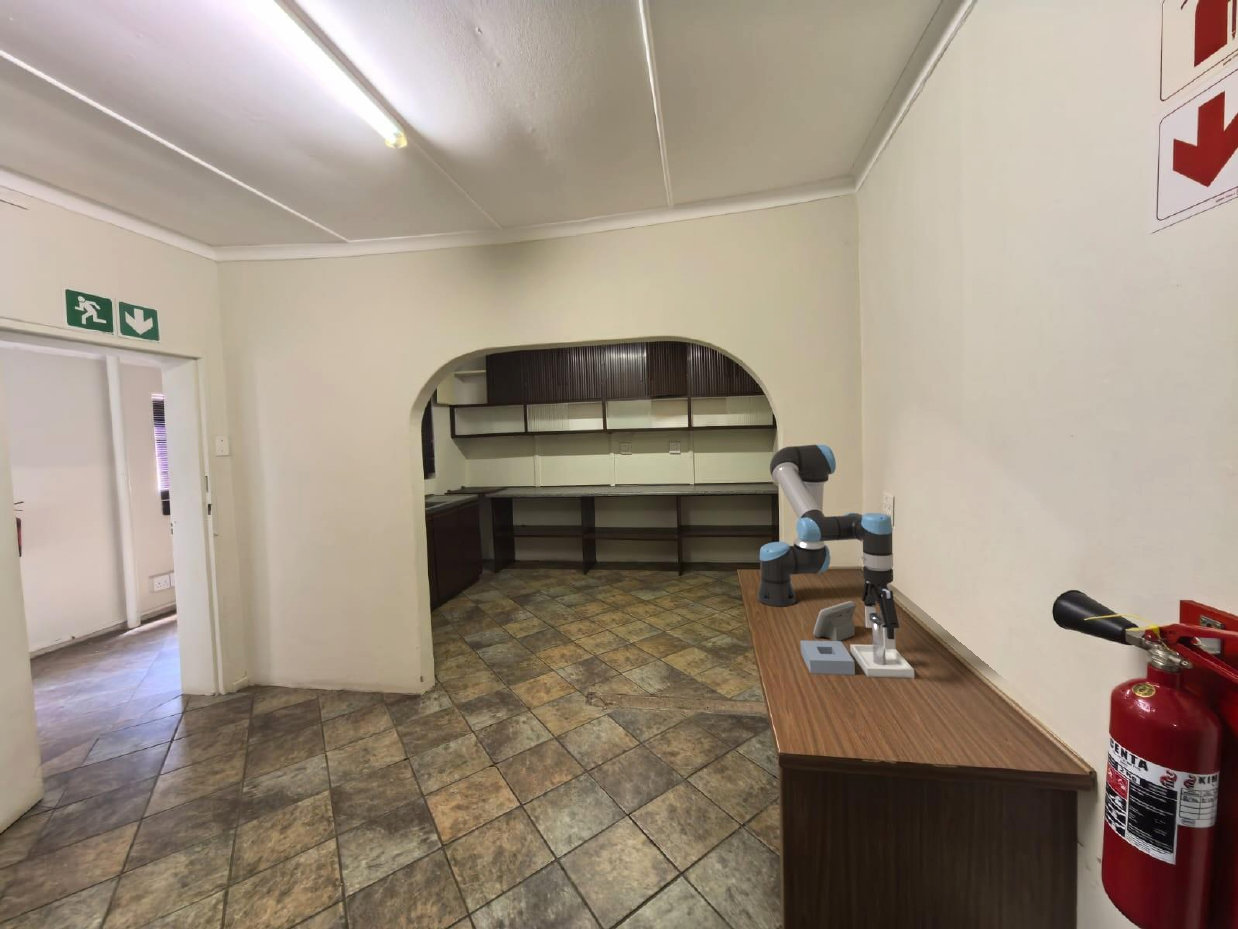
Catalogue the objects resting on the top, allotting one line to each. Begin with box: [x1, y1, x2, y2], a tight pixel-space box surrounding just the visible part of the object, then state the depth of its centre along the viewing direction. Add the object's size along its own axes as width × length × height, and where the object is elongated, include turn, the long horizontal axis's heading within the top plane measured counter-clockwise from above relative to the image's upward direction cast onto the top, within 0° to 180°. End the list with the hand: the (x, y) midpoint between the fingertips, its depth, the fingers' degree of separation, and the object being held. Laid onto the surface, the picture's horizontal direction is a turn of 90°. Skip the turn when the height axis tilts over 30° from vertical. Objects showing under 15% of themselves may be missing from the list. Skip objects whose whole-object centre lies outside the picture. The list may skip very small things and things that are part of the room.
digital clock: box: [812, 600, 857, 641], centre depth 149 cm, size 16×9×11 cm, turn 103°
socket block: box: [800, 640, 856, 676], centre depth 132 cm, size 12×12×4 cm
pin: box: [869, 612, 886, 665], centre depth 129 cm, size 4×4×14 cm
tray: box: [849, 644, 915, 679], centre depth 130 cm, size 14×12×2 cm
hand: (879, 637), depth 129 cm, fingers open, 13 cm apart
